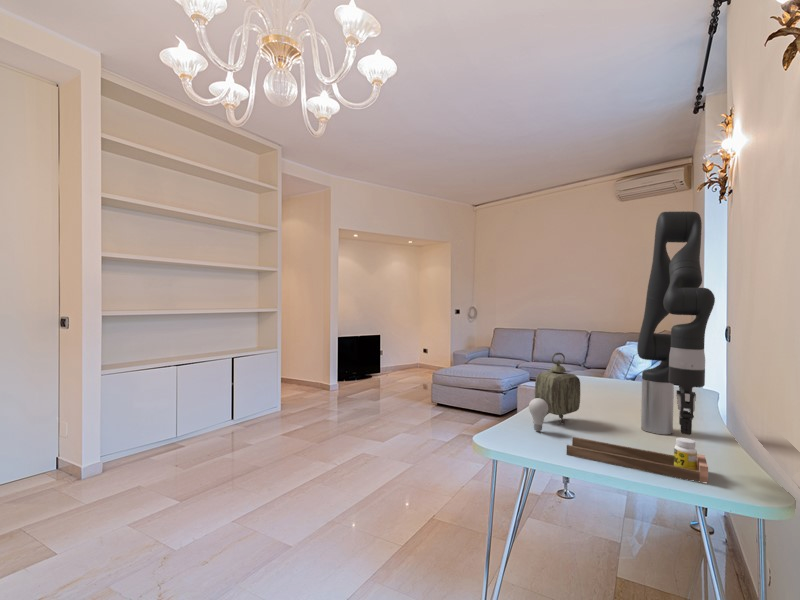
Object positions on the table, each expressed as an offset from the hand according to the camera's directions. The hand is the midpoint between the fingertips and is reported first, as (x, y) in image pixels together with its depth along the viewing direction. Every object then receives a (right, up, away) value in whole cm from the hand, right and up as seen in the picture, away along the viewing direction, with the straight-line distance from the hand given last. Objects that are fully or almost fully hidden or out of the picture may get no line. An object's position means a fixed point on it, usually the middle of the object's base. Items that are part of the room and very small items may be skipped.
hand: (685, 429), depth 103 cm
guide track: (-11, -11, +6) cm, 16 cm away
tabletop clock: (-16, -11, +43) cm, 47 cm away
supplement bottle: (0, -11, 0) cm, 11 cm away
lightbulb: (-27, -11, +31) cm, 42 cm away
